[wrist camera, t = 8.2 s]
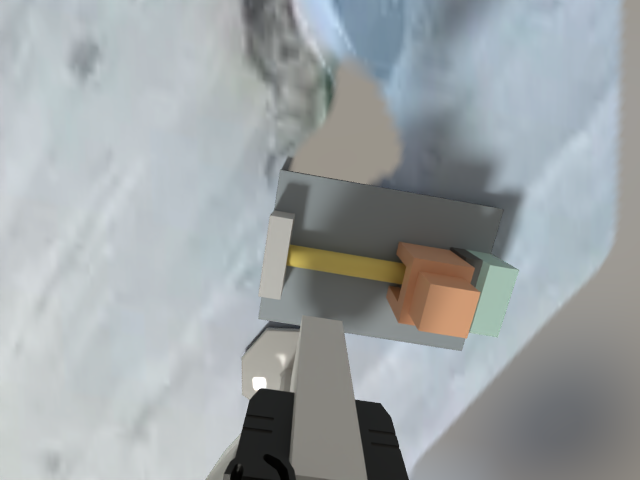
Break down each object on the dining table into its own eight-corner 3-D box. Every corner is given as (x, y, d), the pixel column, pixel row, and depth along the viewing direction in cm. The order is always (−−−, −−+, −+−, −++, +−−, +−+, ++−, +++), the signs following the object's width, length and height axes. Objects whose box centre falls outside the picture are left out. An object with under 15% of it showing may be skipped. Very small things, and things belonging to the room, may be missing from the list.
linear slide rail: (281, 169, 27) (273, 172, 22) (497, 207, 28) (535, 218, 23) (260, 313, 30) (248, 344, 25) (457, 344, 30) (483, 380, 25)
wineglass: (227, 394, 31) (59, 840, 11) (259, 309, 30) (126, 655, 9) (319, 424, 32) (322, 892, 12) (356, 343, 30) (434, 731, 10)
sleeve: (399, 241, 27) (425, 269, 20) (450, 250, 27) (492, 280, 20) (385, 297, 28) (407, 341, 21) (435, 305, 28) (471, 351, 21)
